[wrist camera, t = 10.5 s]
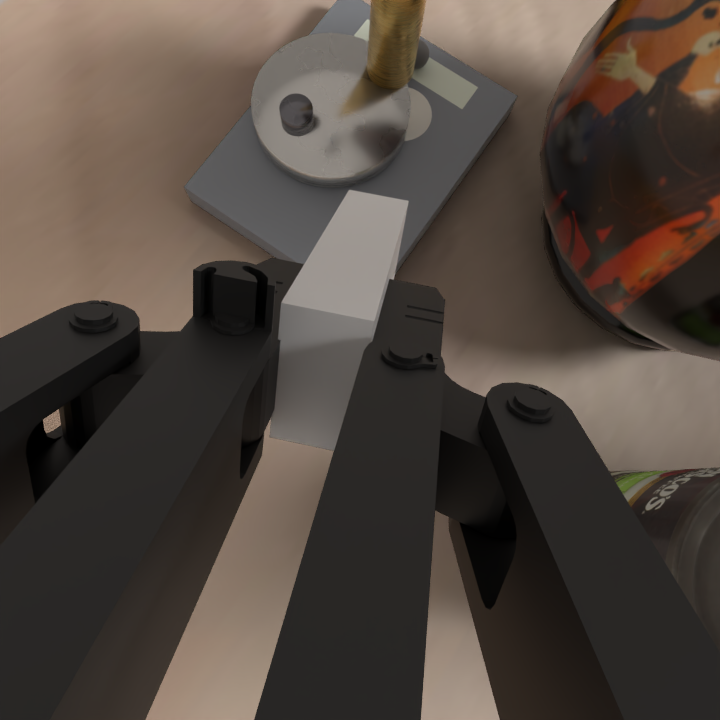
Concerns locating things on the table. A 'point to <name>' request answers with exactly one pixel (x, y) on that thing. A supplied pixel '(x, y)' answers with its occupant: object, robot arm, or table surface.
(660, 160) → the brown glazed vase
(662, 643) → the robot arm
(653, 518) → the coffee can
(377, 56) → the lever
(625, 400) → the table surface
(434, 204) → the grey crank mechanism
